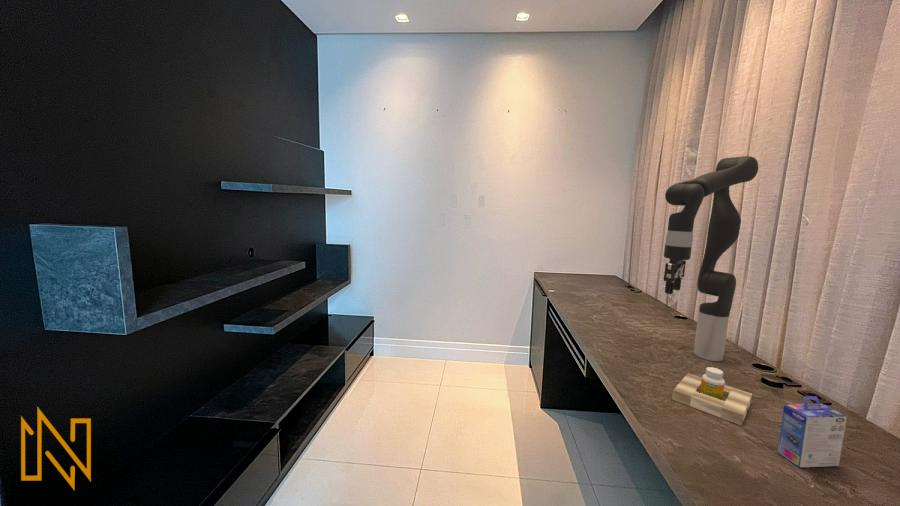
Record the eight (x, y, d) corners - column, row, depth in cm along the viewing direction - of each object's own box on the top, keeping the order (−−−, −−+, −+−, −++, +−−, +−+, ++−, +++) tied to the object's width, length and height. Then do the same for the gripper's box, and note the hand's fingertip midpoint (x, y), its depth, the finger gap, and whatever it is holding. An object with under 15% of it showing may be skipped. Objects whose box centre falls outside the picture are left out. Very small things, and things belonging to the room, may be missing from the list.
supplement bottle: (702, 403, 100) (706, 372, 99) (696, 394, 105) (700, 364, 104) (724, 408, 98) (729, 376, 97) (718, 398, 103) (722, 368, 102)
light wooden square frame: (686, 381, 113) (687, 373, 112) (750, 403, 101) (752, 393, 101) (671, 399, 102) (673, 389, 101) (741, 425, 90) (743, 415, 90)
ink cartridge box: (812, 449, 82) (823, 393, 80) (840, 467, 76) (852, 406, 74) (774, 450, 81) (784, 393, 79) (799, 468, 76) (811, 407, 74)
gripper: (685, 247, 107) (679, 297, 110) (697, 244, 117) (691, 290, 119) (658, 244, 113) (653, 292, 115) (671, 242, 122) (666, 286, 125)
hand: (672, 291), depth 117 cm, fingers open, 8 cm apart
